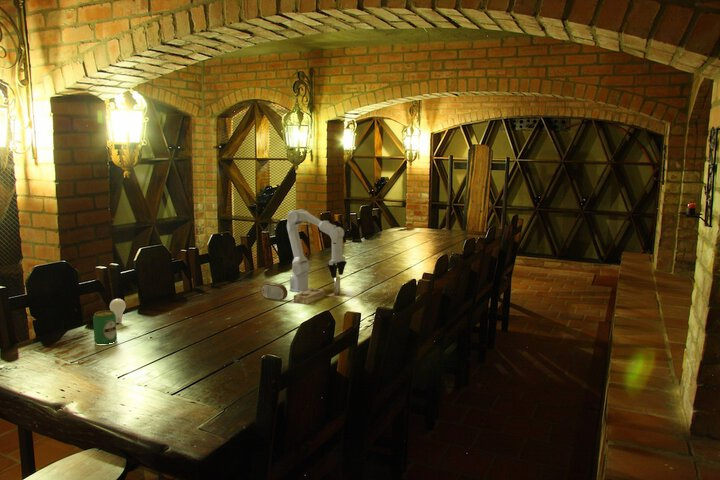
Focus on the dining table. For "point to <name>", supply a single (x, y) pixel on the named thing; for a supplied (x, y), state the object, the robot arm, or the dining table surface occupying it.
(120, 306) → the lightbulb
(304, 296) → the wooden rectangular frame
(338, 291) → the pin
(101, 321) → the beverage can
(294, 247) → the robot arm
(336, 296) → the cork coaster
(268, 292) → the tin
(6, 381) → the dining table surface
